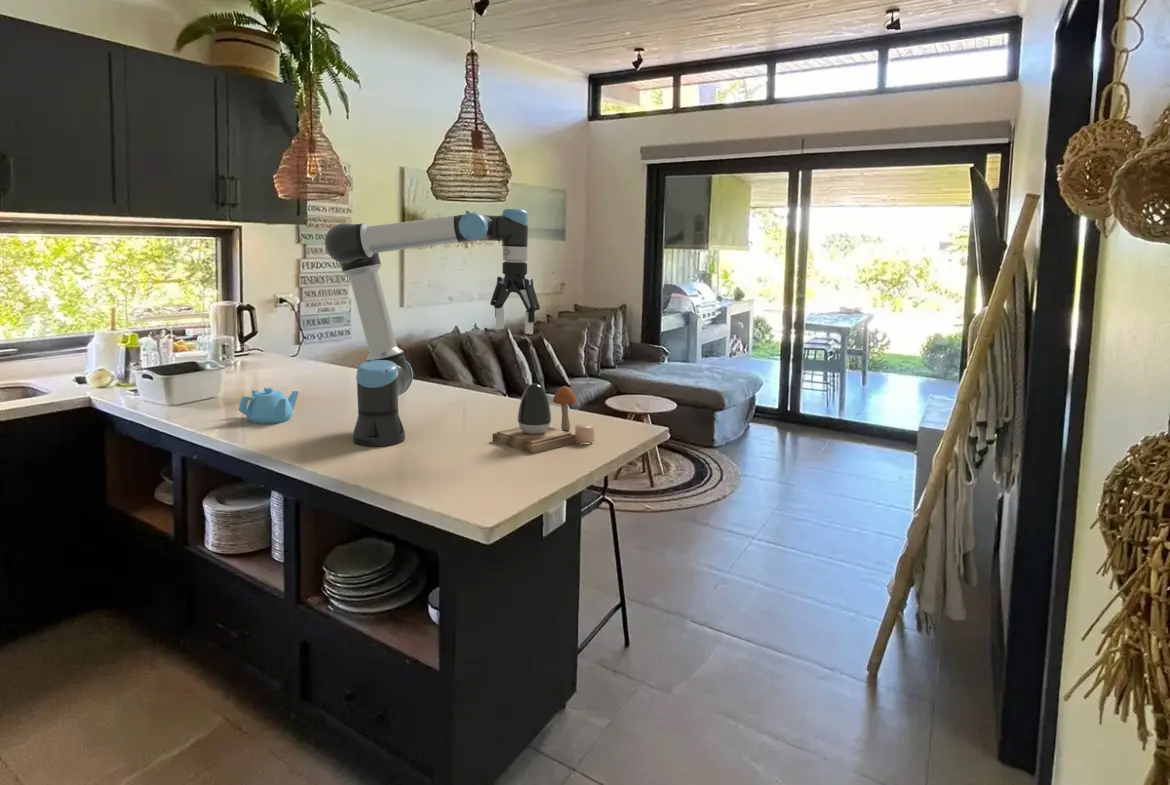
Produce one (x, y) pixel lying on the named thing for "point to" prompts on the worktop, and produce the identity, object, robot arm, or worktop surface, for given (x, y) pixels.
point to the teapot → (268, 406)
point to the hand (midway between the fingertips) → (514, 331)
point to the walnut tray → (534, 439)
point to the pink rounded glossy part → (585, 433)
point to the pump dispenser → (534, 410)
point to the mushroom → (564, 404)
